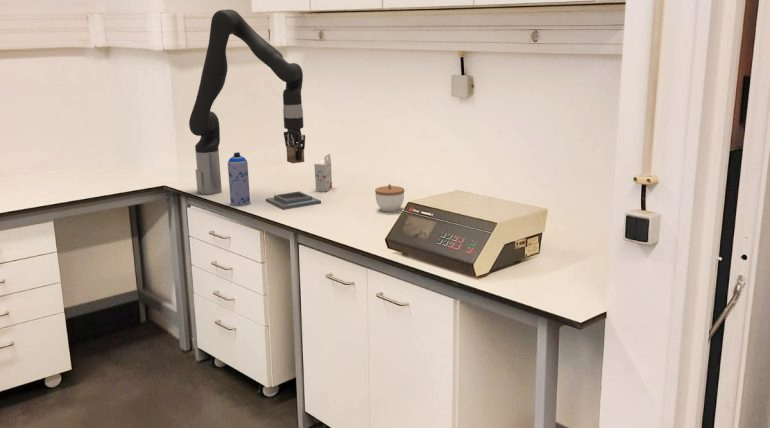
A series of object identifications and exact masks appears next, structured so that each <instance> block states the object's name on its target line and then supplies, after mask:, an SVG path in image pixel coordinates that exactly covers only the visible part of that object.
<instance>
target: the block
mask: <svg viewBox="0 0 770 428" xmlns="http://www.w3.org/2000/svg"><path fill="white" fill-rule="evenodd" d="M285 147H286V146H285ZM297 147H298V145H297ZM301 153H302V160H299V161H297V160H296V150H295V146H287V147H286V161H287V162H288V163H289V164H290V163H291V164H297V163H305V149H304V150H302V151H301Z"/></svg>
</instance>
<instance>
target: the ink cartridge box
mask: <svg viewBox="0 0 770 428" xmlns="http://www.w3.org/2000/svg"><path fill="white" fill-rule="evenodd" d="M313 165H314V178H315V182H314V183H315V192H321V193H328V191H330V190H331V189H332V187H333V181H332V180H333V179H332V178H333V177H332V175H333V174H332V160H331V153H328V154H326V155H325V156H324V159H323V160H321V159H320V160H319V161H317V162H316V163H314V164H313Z"/></svg>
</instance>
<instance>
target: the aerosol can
mask: <svg viewBox="0 0 770 428" xmlns="http://www.w3.org/2000/svg"><path fill="white" fill-rule="evenodd" d="M248 163H249V162H248V160H247V159H246V157H244V156H242V155H241V152H237V151H236V152H233V156H232V157H230V158H229V159H228V160H227V171H228V172H227V174H228V185H229V186H228V187H229V197H230V202H229V205H230V206H232V207H245V206H246V207H247V206H250V205H251V203H252V202H251V194H250V178H249V167H248V166H249V165H248Z"/></svg>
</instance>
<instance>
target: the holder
mask: <svg viewBox="0 0 770 428" xmlns="http://www.w3.org/2000/svg"><path fill="white" fill-rule="evenodd" d="M265 202H267V203H269V204H271V205H273V206H274V207H278V208H279V209H282V210H289V209H294V208H295V209H296V208H300V207H308V206H311V205H318V204H322V200H321V199H318V198H315V197H313V196H312V195H309V194H306V193H304V192H302V191H300V190H299V191H293V192H287V193H280V194H275V195H273V197H268V198H265Z"/></svg>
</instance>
